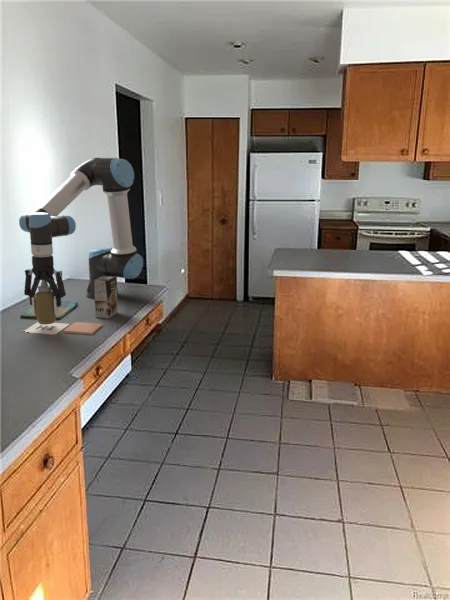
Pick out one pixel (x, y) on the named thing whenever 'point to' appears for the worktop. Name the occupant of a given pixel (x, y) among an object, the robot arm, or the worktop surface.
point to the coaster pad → (83, 328)
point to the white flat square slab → (46, 328)
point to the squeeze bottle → (45, 304)
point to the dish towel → (64, 310)
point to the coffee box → (105, 296)
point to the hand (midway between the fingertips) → (46, 313)
